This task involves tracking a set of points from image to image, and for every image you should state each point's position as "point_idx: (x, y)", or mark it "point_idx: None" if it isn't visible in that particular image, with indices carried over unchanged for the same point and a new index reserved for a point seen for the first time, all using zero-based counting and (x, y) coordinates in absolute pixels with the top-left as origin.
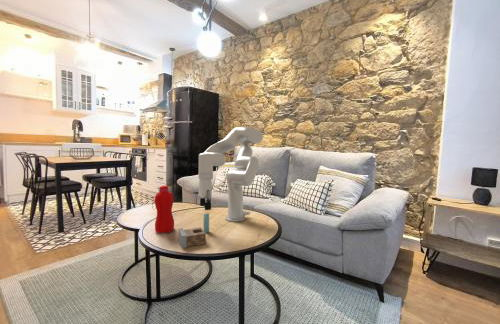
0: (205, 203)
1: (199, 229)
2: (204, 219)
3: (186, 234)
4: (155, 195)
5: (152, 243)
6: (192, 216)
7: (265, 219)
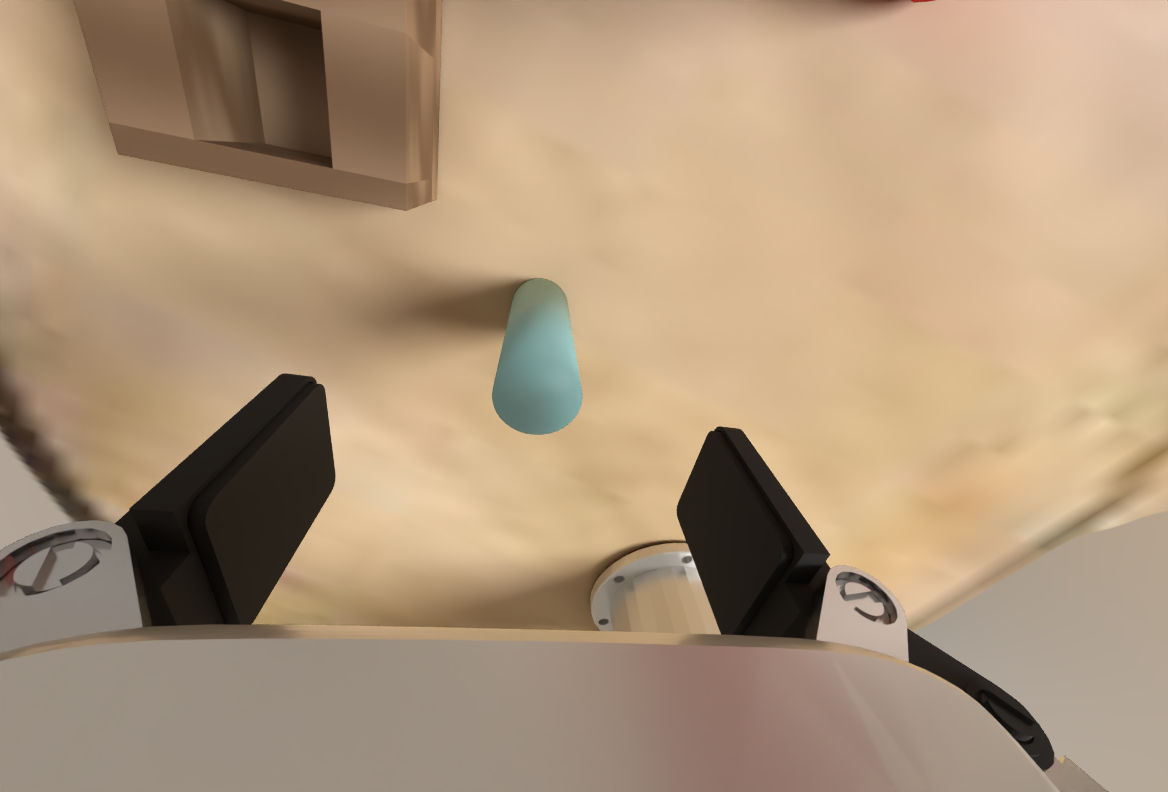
0: (155, 496)
1: (334, 153)
2: (519, 332)
3: None
4: None
5: None
6: (1000, 368)
7: None
